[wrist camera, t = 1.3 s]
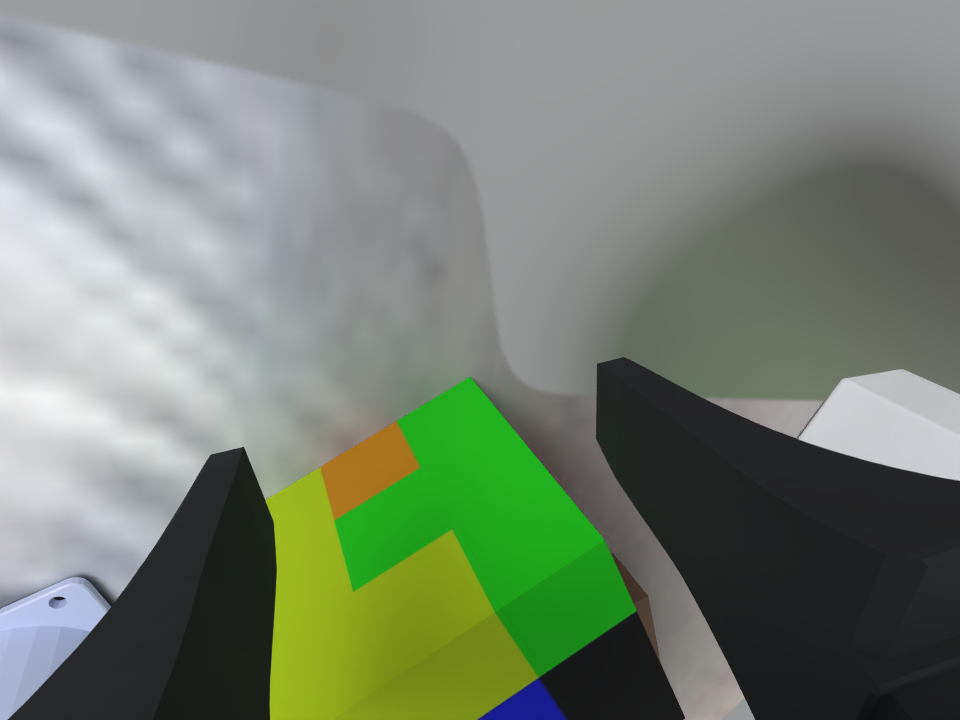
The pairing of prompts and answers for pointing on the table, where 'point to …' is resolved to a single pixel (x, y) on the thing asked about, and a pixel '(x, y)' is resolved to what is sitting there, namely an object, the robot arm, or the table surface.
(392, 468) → the puzzle toy
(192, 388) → the table surface
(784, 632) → the robot arm
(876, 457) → the jar
